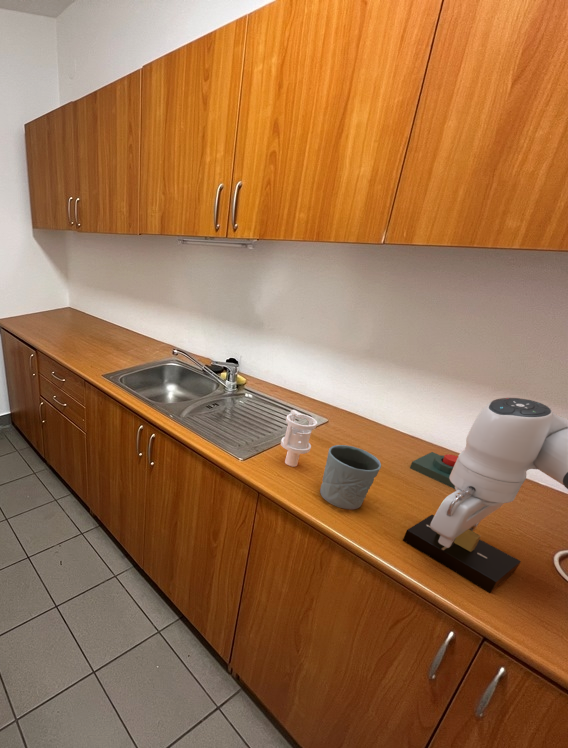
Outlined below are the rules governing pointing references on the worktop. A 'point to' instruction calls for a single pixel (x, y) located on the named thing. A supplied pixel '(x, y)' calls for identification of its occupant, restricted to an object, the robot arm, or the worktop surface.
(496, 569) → the lock plate
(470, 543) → the lock knob
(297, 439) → the strainer
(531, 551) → the worktop surface
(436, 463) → the switch box
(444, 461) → the button
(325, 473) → the grey plant pot
